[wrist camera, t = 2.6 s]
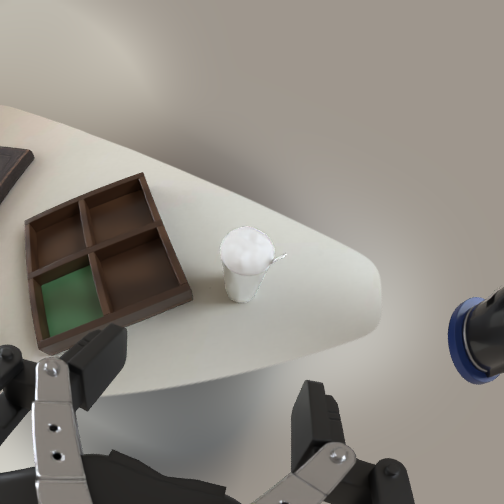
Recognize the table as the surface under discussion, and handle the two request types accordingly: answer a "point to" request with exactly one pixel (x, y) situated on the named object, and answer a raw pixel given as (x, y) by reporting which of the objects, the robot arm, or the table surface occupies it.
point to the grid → (100, 264)
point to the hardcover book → (12, 167)
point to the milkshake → (245, 261)
